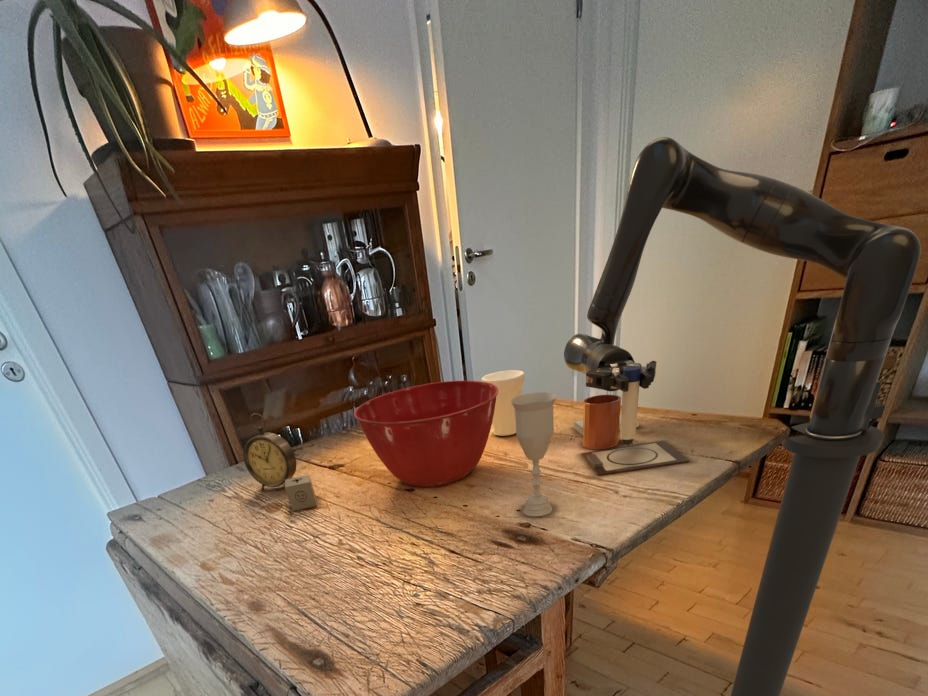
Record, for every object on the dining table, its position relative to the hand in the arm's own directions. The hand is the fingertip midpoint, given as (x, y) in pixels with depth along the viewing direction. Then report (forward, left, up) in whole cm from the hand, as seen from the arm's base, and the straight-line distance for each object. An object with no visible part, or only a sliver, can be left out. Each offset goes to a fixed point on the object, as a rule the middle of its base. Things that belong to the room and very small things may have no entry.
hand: (637, 383), depth 90 cm
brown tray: (-2, -4, -15) cm, 15 cm away
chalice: (+20, +14, -15) cm, 29 cm away
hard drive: (-3, -26, -15) cm, 30 cm away
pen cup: (+1, -16, -15) cm, 21 cm away
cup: (+19, -34, -15) cm, 42 cm away
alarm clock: (+73, -19, -15) cm, 77 cm away
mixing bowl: (+37, -11, -15) cm, 42 cm away
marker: (0, -3, -11) cm, 11 cm away
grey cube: (+65, -6, -15) cm, 67 cm away
